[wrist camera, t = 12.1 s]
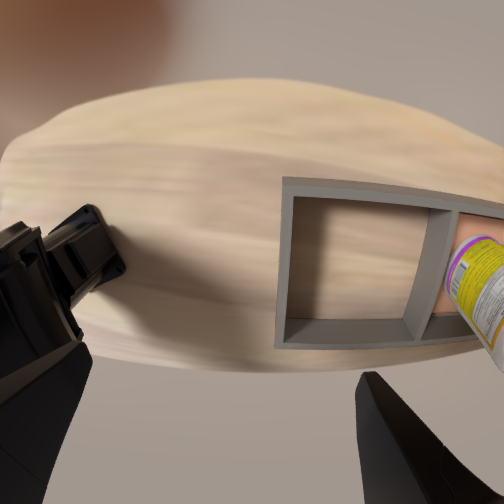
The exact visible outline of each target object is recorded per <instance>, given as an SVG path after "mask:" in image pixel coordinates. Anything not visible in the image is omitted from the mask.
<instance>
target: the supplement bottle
mask: <svg viewBox="0 0 504 504" xmlns="http://www.w3.org/2000/svg"><path fill="white" fill-rule="evenodd" d="M444 288H445V292H446V295H447V297H448V298H449V300H450V301H451V302H452V304H453V305H454V306H455V307H456V309H457V310H458V311H459V313H460V314H461V315H462V317H463V318H464V319H465V320H466V322H467V323H468V324H469V326H470V327H471V329H472V330H473V331H474V333H475V334H476V335H477V337H478V338H479V340H480V341H481V343H482V344H483V346H484V347H485V348H486V350H487V351H488V353H489V354H490V356H491V358H492V359H493V361H494V362H495V364H496V366H497V367H498V368H499V370H501V371H502V372H504V245H503V244H501V243H500V242H498V241H497V240H495V239H494V238H492V237H490V236H488V235H485V234H477V235H473V236H471V237H469V238H467V239H465V240H464V241H463V242H462V243H461V244H460V245H459V246H458V247H457V248H456V249H455V251H454V252H453V254H452V255H451V257H450V259H449V261H448V263H447V266H446V269H445V274H444Z"/></svg>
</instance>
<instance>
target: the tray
mask: <svg viewBox="0 0 504 504" xmlns="http://www.w3.org/2000/svg"><path fill="white" fill-rule="evenodd" d="M294 196H303V197H321V198H336V199H350V200H362V201H373V202H384V203H394V204H404V205H413V206H421V207H429V208H430V214H429V220H428V225H427V230H426V235H425V240H424V244H423V249H422V253H421V257H420V261H419V265H418V269H417V273H416V277H415V280H414V284H413V288H412V291H411V294H410V298H409V301H408V304H407V307H406V310H405V313H404V316H403V319H376V320H328V319H290V318H285V317H286V306H287V293H288V280H289V267H290V252H291V236H292V218H293V198H294ZM459 212H466V213H472V214H479V215H485V216H491V217H497V218H502V219H497V218H491V217H485V216H479V215H472V214H466V213H459ZM503 219H504V204H501V203H496V202H491V201H487V200H482V199H477V198H472V197H466V196H461V195H455V194H449V193H443V192H437V191H431V190H424V189H417V188H410V187H402V186H394V185H385V184H376V183H367V182H356V181H345V180H333V179H318V178H301V177H283V178H282V208H281V232H280V254H279V273H278V291H277V308H276V323H275V345H274V349H302V350H354V349H382V348H399V347H413V346H425V345H435V344H444V343H453V342H461V341H468V340H475V339H479V338H478V337H477V335H476V334H475V333H474V331H473V330H472V329H471V327H470V326H469V324H468V323H467V322H466V320H465V319H464V318H463V317H462V316H450V317H433V318H429V317H430V315H431V313H439V312H456V311H458V310H457V309H456V307H455V306H454V305H453V304H452V302H451V301H450V300H449V298H448V297H447V295H446V292H445V288H444V274H445V269H446V266H447V263H448V261H449V259H450V257H451V255H452V254H453V252H454V251H455V249H456V248H457V247H458V246H459V245H460V244H461V243H462V242H463V241H464V240H465V239H467V238H469V237H471V236H473V235H477V234H485V235H488V236H490V237H492V238H494V239H495V240H497V241H498V242H500V243H501V244H503V245H504V220H503Z"/></svg>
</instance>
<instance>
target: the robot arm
mask: <svg viewBox="0 0 504 504" xmlns="http://www.w3.org/2000/svg"><path fill="white" fill-rule="evenodd" d="M87 209H88V211H89V212H87ZM41 234H42V233H41V230H40V227H39V226H38V227H34V228H31V227H29V226H28V227H27V226H26V225H25V224H24V223H23V222H22V221H20V222H17V223H15V224H13V225H11V226H10V227H8V228H6V229H4V230H2V231H1V232H0V504H42V502H43V499H44V496H45V492H46V489H47V485H48V483H49V479H50V476H51V473H52V471H53V468H54V464H55V462H56V459H57V456H58V454H59V451H60V448H61V445H62V443H63V440H64V438H65V435H66V433H67V430H68V428H69V426H70V423H71V421H72V418H73V416H74V413H75V411H76V409H77V407H78V404H79V402H80V399H81V397H82V394H83V391H84V388H85V385H86V382H87V379H88V376H89V373H90V370H91V367H92V363H93V360H92V357H91V355H90V352H89V350H88V348H87V345H86V344H85V343H84V342H82V338H83V336H84V333H83V331H82V329H81V328H79V326H78V324H77V322H76V320H75V318H74V316H73V314H72V312H71V310H72V309H73V308H74V307H75V306H76V305H77V304H78V303H79V301H80V300H81V299H82V298H83V297H84V296H85V295H86V294H87V293H88V292H89V291H90V290H91V289H93V288H95V287H97V286H99V285H101V284H103V283H106V282H108V281H110V280H112V279H114V278H116V277H119V276H121V275H123V274H124V273H125V272H126V266H125V264H124V262H123V261H122V259H121V257H120V256H119V254H118V252H117V251H116V249H115V247H114V245H113V244H112V242H111V240H110V238H109V237H108V235H107V233H106V231H105V229H104V227H103V226H102V224H101V222H100V220H99V218H98V216H97V214H96V212H95V210H94V209H93V207H92V205H90V204H86V205H84V206H83V207H81V208H80V209H79V210H77V211H76V212H75V213H73V214H72V215H71V216H69V217H68V218H67V219H66V220H64V221H63V222H62V223H61V224H59V225H58V226H57V227H56V228H54V229H53V230H52V231H51V232H50V233H49V234H48V236H46V237H44V238H43V239H42V237H41ZM119 267H120V268H121V270H120V269H119ZM355 401H356V427H357V443H358V450H359V457H360V465H361V473H362V481H363V490H364V500H365V504H504V496H501V495H500V494H498V493H496V492H494V491H493V490H492V489H491V488H490V487H489V486H487V485H486V484H485V483H484V482H483V481H481V480H480V479H479V478H478V477H477V476H475V475H474V474H473V473H472V472H471V471H470V470H469V469H468V468H466V467H465V466H464V465H463V464H462V463H461V462H460V461H459V460H458V459H457V458H456V457H455V456H454V455H453V454H452V453H451V452H450V451H449V449H448V448H447V447H446V446H443V443H442V442H441V441H440V440H439V439H438V438H437V436H436V435H435V434H434V433H433V432H432V431H431V430H430V429H429V428H428V427H427V426H426V424H424V422H423V421H422V420H421V419H420V418H419V417H418V416H417V415H416V414H415V413H414V411H413V410H412V409H411V408H410V407H409V406H408V405H407V404H406V403H405V402H404V401H403V400H402V399H401V398H400V397H399V395H398V394H397V393H396V392H395V391H394V390H393V389H392V388H391V387H390V386H389V385H388V383H387V382H386V381H385V380H384V379H383V378H382V377H381V376H380V375H379V374H378V373H377V372H375V371H370V372H363V374H362V375H361V378H360V380H359V383H358V385H357V388H356V392H355Z"/></svg>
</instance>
